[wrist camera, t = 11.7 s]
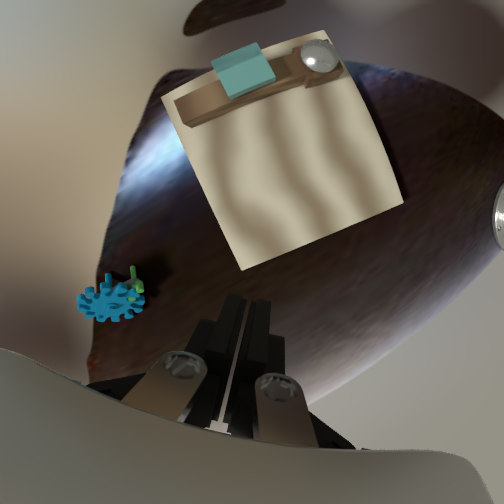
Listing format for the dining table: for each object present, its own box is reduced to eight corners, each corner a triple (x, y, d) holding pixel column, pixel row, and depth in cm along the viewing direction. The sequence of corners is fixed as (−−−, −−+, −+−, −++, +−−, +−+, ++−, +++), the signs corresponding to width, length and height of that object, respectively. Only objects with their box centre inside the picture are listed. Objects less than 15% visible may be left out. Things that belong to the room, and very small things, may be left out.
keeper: (258, 61, 29) (256, 42, 23) (275, 92, 30) (275, 76, 24) (220, 78, 30) (210, 61, 24) (235, 109, 31) (228, 96, 25)
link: (322, 50, 27) (327, 38, 24) (337, 79, 28) (344, 70, 25) (181, 102, 30) (171, 96, 27) (193, 132, 31) (184, 128, 28)
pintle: (320, 52, 28) (328, 35, 23) (336, 79, 29) (345, 65, 24) (291, 61, 29) (294, 45, 24) (306, 89, 29) (311, 76, 25)
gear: (107, 331, 40) (62, 309, 32) (104, 298, 43) (63, 272, 35) (164, 307, 40) (124, 279, 31) (158, 273, 43) (120, 240, 34)
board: (322, 34, 28) (323, 29, 27) (398, 201, 34) (403, 202, 32) (165, 99, 32) (160, 97, 31) (242, 266, 37) (241, 270, 36)
